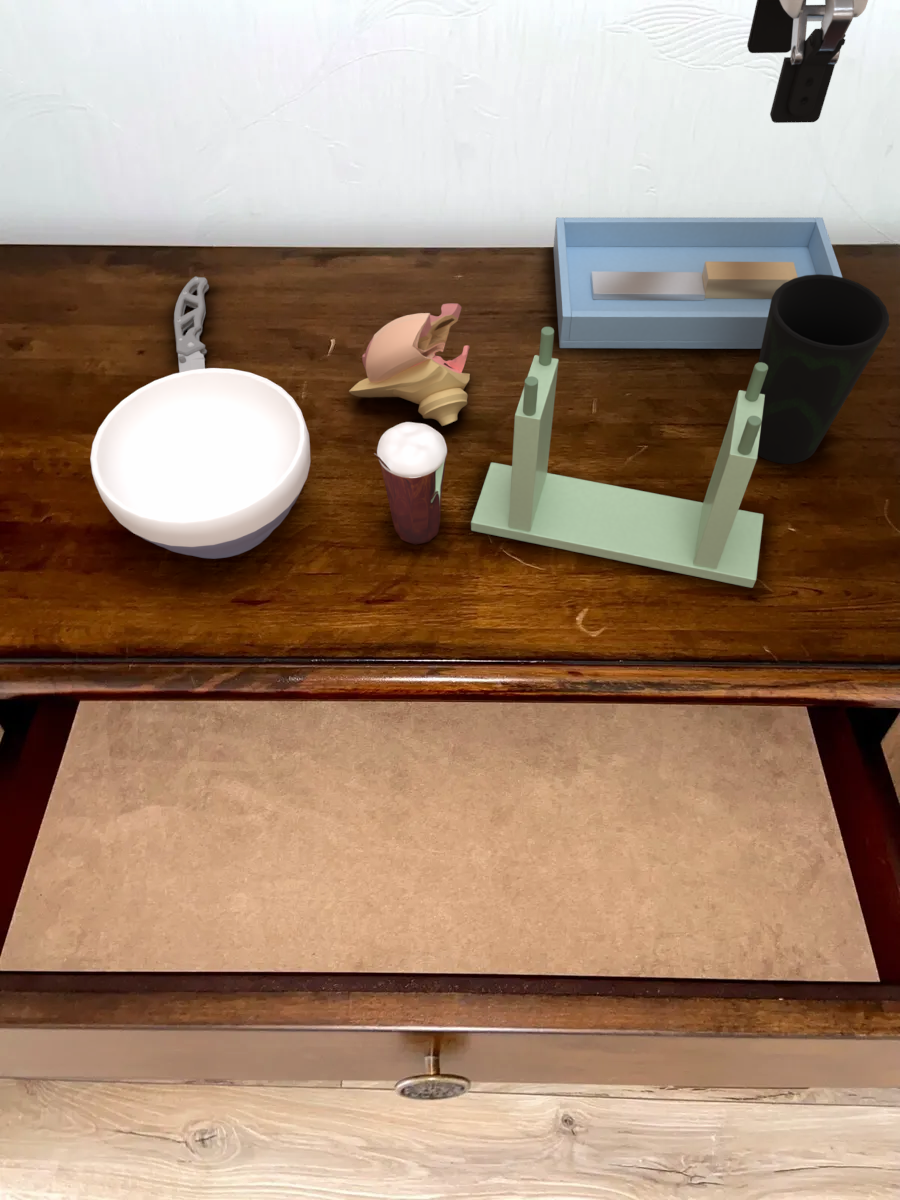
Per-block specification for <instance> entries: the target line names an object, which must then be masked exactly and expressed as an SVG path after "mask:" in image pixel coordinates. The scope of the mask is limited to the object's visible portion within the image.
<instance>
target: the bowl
mask: <svg viewBox="0 0 900 1200" xmlns="http://www.w3.org/2000/svg"><path fill="white" fill-rule="evenodd" d="M310 441H311V440H310V433H309V430H308V427H307V423H306V421H305V418H304V416H303V412H302V410H301V408H300V407H299V405H298V404H297V402H296V401H295V399H294V398H293V397H292V395H290V394H289V392H287V391H286V390H285V389H284V388H283V387H282V386H280V385H279V384H276V383H275V382H273V381H272V380H270V379H269V378H266V377H263V376H260V375H259V374H255V373H252V372H250V371H244V370H240V369H234V368H222V367H221V368H219V367H208V368H207V367H206V368H205V369H196V370H190V371H185V372H175V373H172V374H169V375H166V376H164V377H161V378H158V379H155V380H153V381H151V382H149V383H148V384H146V385H144V386H142V387H140V388H138V389H136V390H135V391H133V392H132V393H131V394H129V395H128V396H127V397H125V398H124V399H122V400H121V401H120V402H119V403H118V404H117V405H116V406H115V407H114V408H113V409H112V410H111V411H110V412H109V413H108V414H107V416H106V417H105V419H103V421H102V423H101V424H100V426H99V427H98V429H97V432H96V434H95V436H94V439H93V441H92V442H91V443H92V444H91V451H90V458H89V460H90V461H89V462H90V467H91V468H90V469H91V475H92V477H93V481H94V484H95V487H96V489H97V491H98V494H99V496H100V498H101V501H102V502H103V503H104V505H105V506H106V507H107V510H109V513H111V515H112V516H113V517H114V518H115V519H116V520H117V522H118V523H119V524H120V525H122V526H123V527H124V528H126V529H127V530H128V531H129V532H131V533H133V534H135V536H138V537H140V538H142V539H143V540H144V541H147V542H149V543H152V544H154V545H156V546H158V547H161V548H164V549H166V550H168V551H171V552H173V553H176V554H181V555H186V556H193V557H196V558H202V559H214V560H216V559H224V558H225V559H227V558H230V557H235V556H239V555H241V554H243V553H246V552H248V551H250V550H252V549H254V548H255V547H257V546H259V545H260V544H262V543H263V542H264V541H265V540H266V539H267V538H268V537H270V535H271V534H272V533H273V531H274V530H275V529H277V528H278V527H279V526H280V525H281V524H282V522H283V521H284V520H285V519H286V517H287V516H288V515H289V513H290V511H291V509H292V507H294V505H295V504H296V502H297V500H298V498H299V495H300V494H301V492H302V490H303V488H304V485H305V483H306V481H307V479H308V476H309V472H310V467H311V464H312V463H311V443H310Z"/></svg>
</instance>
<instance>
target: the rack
mask: <svg viewBox="0 0 900 1200" xmlns="http://www.w3.org/2000/svg"><path fill="white" fill-rule="evenodd" d="M554 337H555V330H554V328H553V327H551V326H544V327H542V328H541V331H540V341H539V342H540V343H539V352H538V354H535V355H534V356H533V358H532V361H531V365H530V368H529V371H528V374H527V376H526V377H525V379H524V385H523V389H522V391H521V395H520V398H519V401H518V404H517V407H516V410H515V413H514V424H513V441H512V442H513V443H512V459H511V465H509V464H503V463H498V462H490V463H489V467H488V470H487V473H486V476H485V479H484V482H483V485H482V488H481V491H480V494H479V497H478V499H477V503H476V506H475V509H474V511H473V514H472V518H471V521H470V530H471V532H477V533H482V534H485V535H492V536H495V537H496V536H497V537H500V538H501V537H502V538H505V539H511V540H515V541H520V542H525V543H530V544H534V545H535V544H536V545H540V546H545V547H550V548H555V549H559V550H565V551H569V552H575V553H579V554H583V555H589V556H593V557H598V558H603V559H608V560H614V561H617V562H623V563H628V564H632V565H638V566H643V567H646V568H647V567H648V568H652V569H657V570H662V571H666V572H673V573H677V574H682V575H687V576H691V577H695V578H701V579H707V580H711V581H716V582H722V583H725V584H730V585H735V586H739V587H746V588H750V589H752V588H754V586H755V584H756V581H757V577H758V568H759V559H760V552H761V551H760V549H761V542H762V541H761V540H762V533H763V532H762V531H763V525H764V514H763V513H759V512H753V511H748V510H742V509H740V506H741V504H742V501H743V498H744V497H745V496H744V495H745V493H746V491H747V488H748V484H749V482H750V480H751V478H752V474H753V472H754V468H755V466H756V463H757V461H758V456H759V455H758V447H759V439H760V431H761V423H762V415H763V406H764V398H765V395H764V394H760V391H761V388H762V385H763V382H764V380H765V377H766V374H767V371H768V366H767V365H766V364H765V363H762V362H759V361H758V362H759V363H758V362H756V363H755V364H754V367H753V370H752V373H751V376H750V378H749V381H748V385H747V388H746V390H741V389H740V390H738V392H737V394H736V398H735V401H734V405H733V408H732V411H731V414H730V417H729V420H728V424H727V427H726V429H725V433H724V436H723V440H722V442H721V446H720V449H719V452H718V455H717V458H716V462H715V465H714V466H713V467H714V468H713V470H712V474H711V477H710V479H709V483H708V487H707V489H706V493H705V496H704V499H703V502H701V501H696V500H691V499H686V498H680V497H676V496H670V495H666V494H661V493H660V494H659V493H654V492H650V491H643V490H639V489H634V488H628V487H623V486H619V485H612V484H607V483H602V482H597V481H592V480H587V479H582V478H576V477H571V476H566V475H561V474H555V473H551V472H550V473H549V472H548V467H549V466H548V465H549V459H550V448H551V439H552V438H551V437H552V428H553V419H554V411H555V410H554V408H555V401H556V400H555V399H556V390H557V389H556V388H557V381H558V369H559V361H560V360H559V358H554V357H553V350H554V349H553V348H554V339H555V338H554Z"/></svg>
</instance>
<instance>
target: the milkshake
mask: <svg viewBox="0 0 900 1200" xmlns="http://www.w3.org/2000/svg"><path fill="white" fill-rule="evenodd" d="M373 454H374V456H375V457H376V458H377V460H378V462H379V463H378V464H379V466H380V469H381V475H382V478H383V482H384V486H385V491H386V496H387V500H388V505H389V510H390V514H391V519H392V523H393V529H394V531H395V532H396V534H397V535H398V537H399V538H400V540H401V541H403V542H406V543H409V544H412V545H419V544H425V543H429V542H430V541H431V540H432V539H434V538H435V537H436V536H437V535H439V530H440V525H441V524H440V523H441V513H442V511H441V510H442V500H443V499H442V498H443V486H444V485H443V484H444V479H445V471H446V463H447V455H448V447H447V443H446V440H445V437H444V435H442V434H441V432H439V431H438V430H436V429H435V428H433V427H432V426H430V425H429V424H426V423H421V422H412V421H405V422H401V423H399V424H396V425H394V426H393V427H390V428H388V429H387V430H386V431H384V432H383V434H382V435H381V436H380V439H379V441H378V444H377V448H376V453H375V452H374V453H373Z"/></svg>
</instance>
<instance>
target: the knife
mask: <svg viewBox="0 0 900 1200" xmlns="http://www.w3.org/2000/svg"><path fill="white" fill-rule="evenodd" d="M209 289H210V285H209V283H208V279H207V277H201V276H200V277H199V276H197V275H195V276H194V277H192V278H191V279H190V280H189V281H188V282H187V283H186V284H185V286H184V287H183V289H182V290H181V292H180V294H179V296H178V298H177V301H176V303H175V308H174V311H173V312H174V313H173V327H174V335H175V336H174V337H175V346H176V348H175V349H176V353H177V358H178V370H179V371H178V373H180V372H185V371H190V370H196V369H206V365H205V361H206V358H205V355H206V354H207V352H208V350H207V349H206V344H204V343H203V342H201V341H200V336H201V335H202V333H203V324H204V320H205V318H206V314H207V312H206V311H207V310H206V302H205V294H206V293H207V292H208V291H209ZM194 293H196V295H194ZM186 307H189V308H192V310H191V311H189V312H187V313H185V310H186ZM186 331H187V332H186ZM184 333H185V334H184Z"/></svg>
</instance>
